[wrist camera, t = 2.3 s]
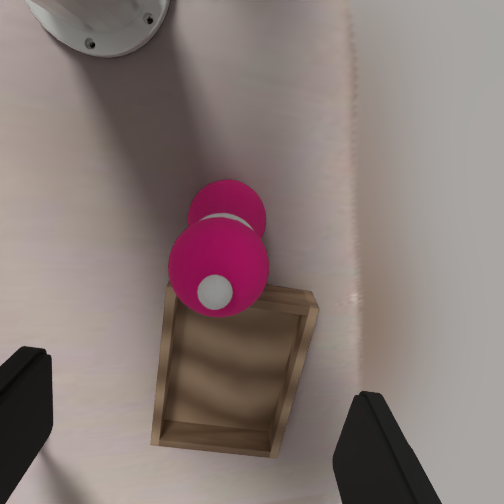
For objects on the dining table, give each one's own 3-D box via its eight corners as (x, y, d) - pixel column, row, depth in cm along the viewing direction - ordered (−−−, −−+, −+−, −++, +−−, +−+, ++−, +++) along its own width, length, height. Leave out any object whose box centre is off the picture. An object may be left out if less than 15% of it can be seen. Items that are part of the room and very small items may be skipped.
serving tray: (174, 270, 37) (166, 286, 33) (311, 291, 38) (319, 309, 34) (158, 418, 44) (150, 445, 40) (273, 431, 46) (276, 458, 42)
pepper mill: (277, 207, 35) (319, 295, 16) (232, 254, 36) (221, 384, 18) (226, 159, 33) (204, 195, 14) (180, 211, 34) (107, 305, 16)
